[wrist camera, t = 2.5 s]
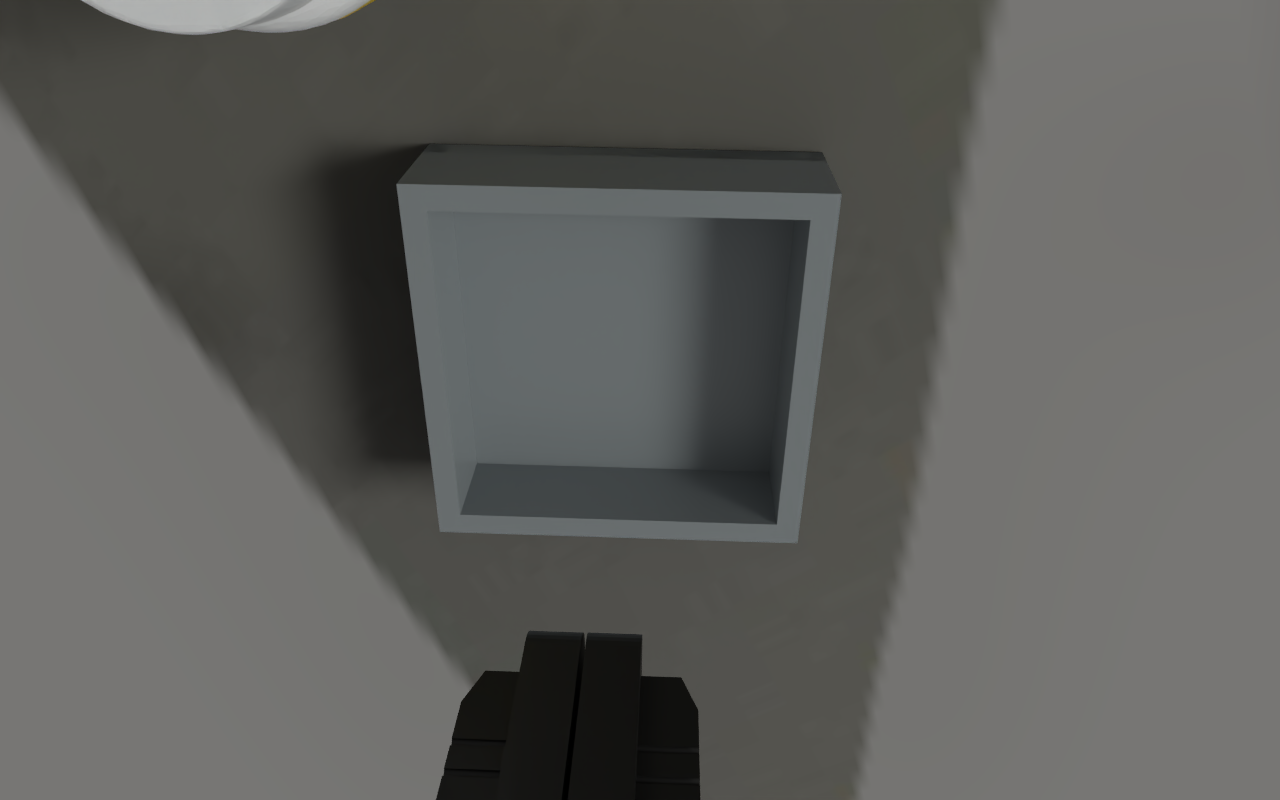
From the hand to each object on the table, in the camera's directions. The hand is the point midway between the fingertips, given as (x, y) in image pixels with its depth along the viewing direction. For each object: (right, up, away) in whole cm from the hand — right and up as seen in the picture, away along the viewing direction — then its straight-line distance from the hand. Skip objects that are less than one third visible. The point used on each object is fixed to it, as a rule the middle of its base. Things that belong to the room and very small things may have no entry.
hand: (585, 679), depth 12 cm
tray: (0, +5, +9) cm, 10 cm away
